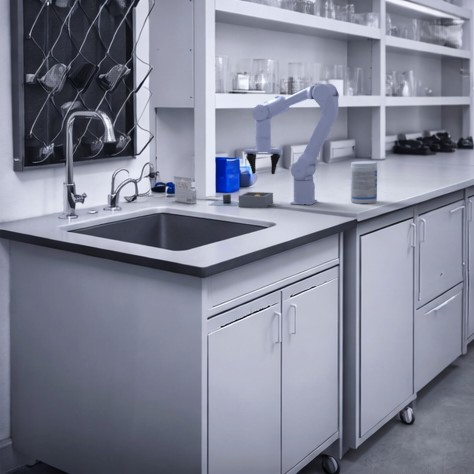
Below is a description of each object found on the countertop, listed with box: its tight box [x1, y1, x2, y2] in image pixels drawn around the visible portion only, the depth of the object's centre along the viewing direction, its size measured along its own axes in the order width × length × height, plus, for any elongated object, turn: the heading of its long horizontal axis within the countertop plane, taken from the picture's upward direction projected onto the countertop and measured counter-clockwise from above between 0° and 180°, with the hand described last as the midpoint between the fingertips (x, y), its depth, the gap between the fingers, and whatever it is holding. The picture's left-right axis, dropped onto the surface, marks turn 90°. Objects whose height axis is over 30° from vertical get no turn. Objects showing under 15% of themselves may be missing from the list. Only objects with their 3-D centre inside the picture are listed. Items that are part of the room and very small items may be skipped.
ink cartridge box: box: [173, 175, 197, 205], centre depth 260 cm, size 2×11×10 cm, turn 41°
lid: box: [208, 193, 239, 207], centre depth 255 cm, size 11×11×4 cm
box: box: [238, 191, 274, 209], centre depth 250 cm, size 10×10×4 cm
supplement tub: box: [350, 160, 378, 204], centre depth 249 cm, size 10×10×15 cm
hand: (263, 173), depth 256 cm, fingers open, 7 cm apart
